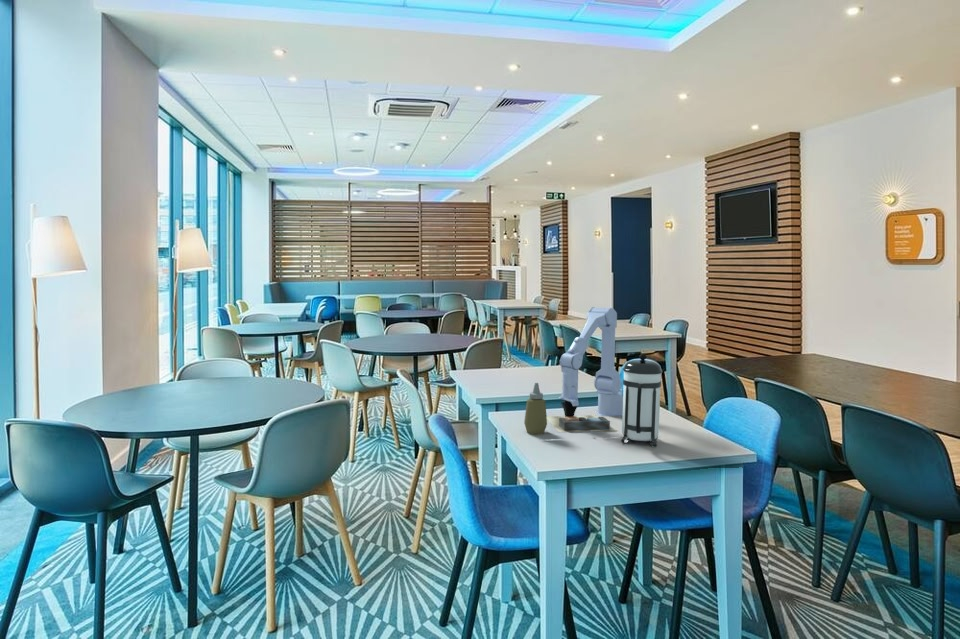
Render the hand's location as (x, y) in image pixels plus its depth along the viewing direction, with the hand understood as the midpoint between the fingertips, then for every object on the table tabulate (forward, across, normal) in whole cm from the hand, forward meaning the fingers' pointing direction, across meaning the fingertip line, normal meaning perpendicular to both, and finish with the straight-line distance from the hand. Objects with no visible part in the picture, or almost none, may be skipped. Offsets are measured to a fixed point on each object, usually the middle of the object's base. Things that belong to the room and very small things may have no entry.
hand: (569, 420), depth 210 cm
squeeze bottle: (+2, +10, -15) cm, 18 cm away
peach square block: (+1, +3, 0) cm, 3 cm away
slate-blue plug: (+1, +6, +8) cm, 10 cm away
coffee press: (+2, +24, +18) cm, 30 cm away
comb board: (+2, 0, +4) cm, 4 cm away
